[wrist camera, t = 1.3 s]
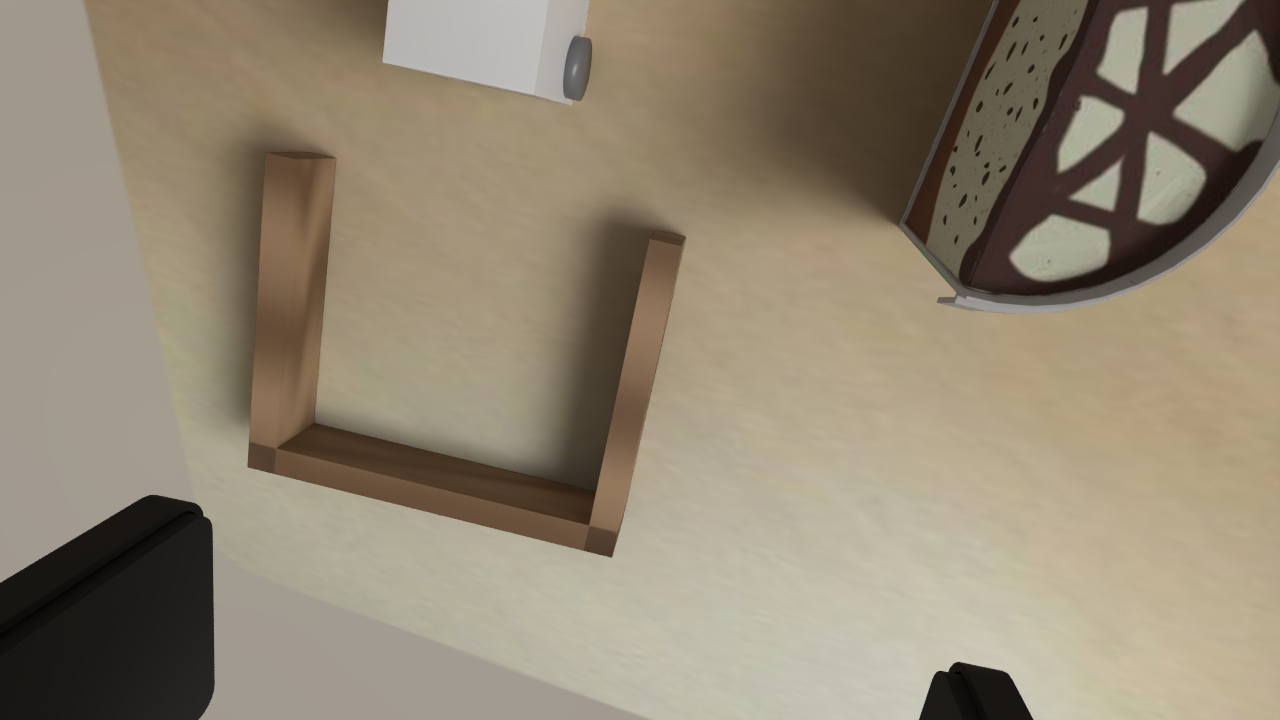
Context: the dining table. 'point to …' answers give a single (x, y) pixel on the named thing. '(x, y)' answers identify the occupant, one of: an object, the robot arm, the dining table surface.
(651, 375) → the bay
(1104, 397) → the dining table surface
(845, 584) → the dining table surface
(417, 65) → the block
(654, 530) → the dining table surface
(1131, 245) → the food container
